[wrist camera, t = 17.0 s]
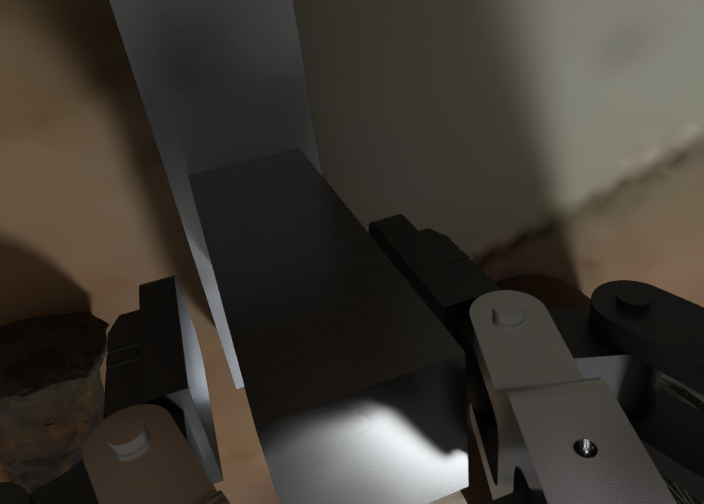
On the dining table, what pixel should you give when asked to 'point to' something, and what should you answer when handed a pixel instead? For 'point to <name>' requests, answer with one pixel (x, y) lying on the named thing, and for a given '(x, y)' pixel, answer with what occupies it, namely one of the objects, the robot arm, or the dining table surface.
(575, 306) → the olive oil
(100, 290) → the dining table surface
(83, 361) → the hand tool
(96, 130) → the dining table surface
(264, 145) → the scraper
